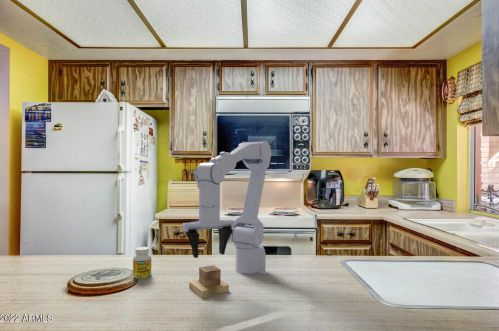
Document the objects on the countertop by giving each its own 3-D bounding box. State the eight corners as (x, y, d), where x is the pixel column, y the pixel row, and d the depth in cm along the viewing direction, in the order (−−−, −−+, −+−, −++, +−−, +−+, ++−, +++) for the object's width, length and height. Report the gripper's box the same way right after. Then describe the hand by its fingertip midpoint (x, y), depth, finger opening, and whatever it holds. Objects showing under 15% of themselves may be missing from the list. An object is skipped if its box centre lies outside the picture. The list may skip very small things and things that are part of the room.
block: (213, 279, 88) (214, 265, 88) (220, 284, 84) (220, 269, 85) (199, 281, 86) (199, 267, 86) (205, 287, 82) (205, 272, 82)
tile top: (214, 282, 91) (214, 276, 91) (228, 291, 84) (228, 285, 84) (189, 288, 86) (189, 281, 86) (202, 298, 79) (202, 291, 79)
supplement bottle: (148, 275, 99) (148, 245, 99) (153, 280, 94) (153, 248, 95) (130, 278, 96) (131, 247, 96) (135, 283, 92) (135, 251, 92)
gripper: (227, 203, 92) (227, 248, 92) (179, 205, 86) (179, 254, 85) (237, 205, 86) (237, 254, 86) (187, 208, 79) (186, 261, 79)
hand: (208, 255), depth 85 cm, fingers open, 7 cm apart
